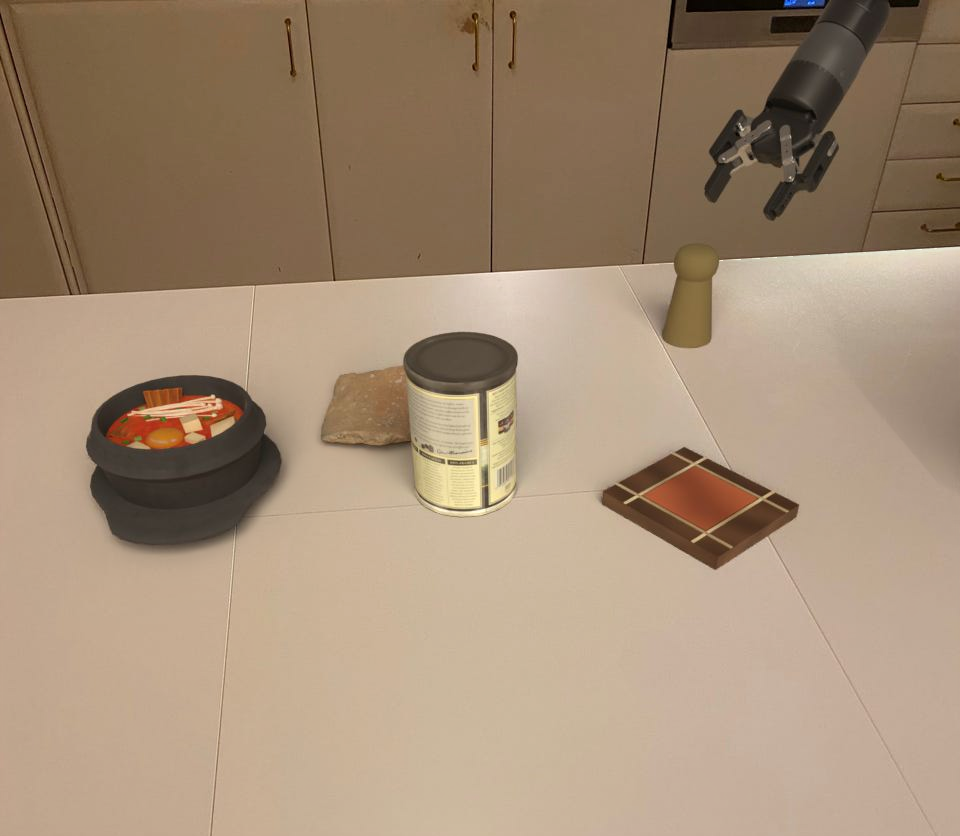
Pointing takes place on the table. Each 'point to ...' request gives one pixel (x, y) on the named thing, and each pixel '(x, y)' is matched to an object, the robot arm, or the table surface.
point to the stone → (369, 408)
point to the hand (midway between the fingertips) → (737, 207)
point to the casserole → (179, 459)
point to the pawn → (692, 297)
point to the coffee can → (462, 422)
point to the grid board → (700, 506)
